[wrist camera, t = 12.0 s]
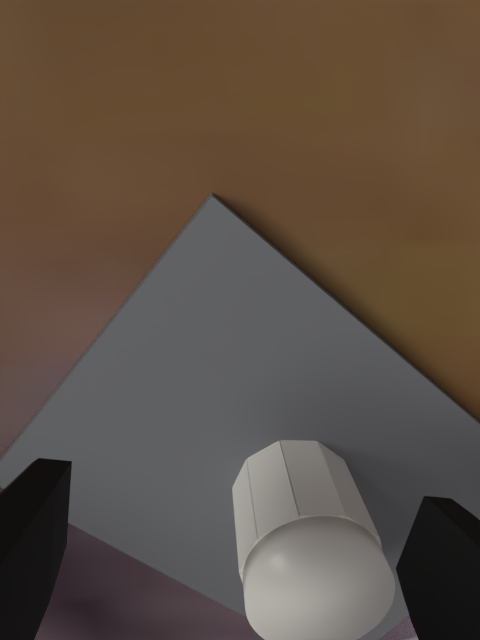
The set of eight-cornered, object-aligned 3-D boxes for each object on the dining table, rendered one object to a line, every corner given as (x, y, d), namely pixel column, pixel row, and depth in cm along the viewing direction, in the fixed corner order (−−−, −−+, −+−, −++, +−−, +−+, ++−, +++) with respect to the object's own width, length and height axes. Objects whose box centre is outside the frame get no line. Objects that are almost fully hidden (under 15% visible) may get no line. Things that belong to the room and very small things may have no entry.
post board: (2, 455, 19) (-64, 554, 14) (211, 192, 16) (214, 208, 11) (334, 639, 25) (365, 753, 20) (537, 471, 21) (630, 559, 17)
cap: (249, 545, 20) (263, 667, 15) (221, 454, 18) (227, 560, 13) (355, 519, 20) (403, 633, 15) (337, 425, 18) (385, 522, 13)
